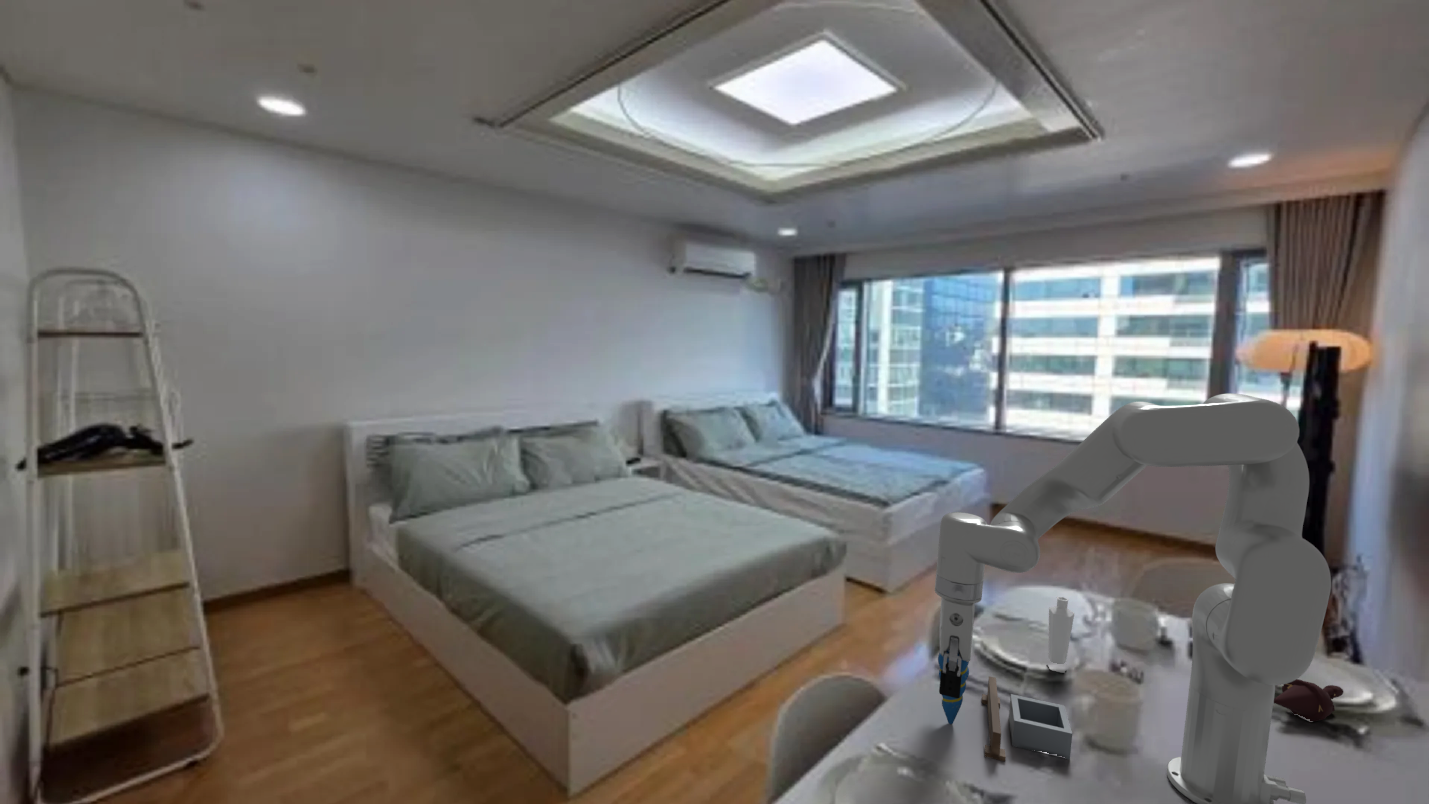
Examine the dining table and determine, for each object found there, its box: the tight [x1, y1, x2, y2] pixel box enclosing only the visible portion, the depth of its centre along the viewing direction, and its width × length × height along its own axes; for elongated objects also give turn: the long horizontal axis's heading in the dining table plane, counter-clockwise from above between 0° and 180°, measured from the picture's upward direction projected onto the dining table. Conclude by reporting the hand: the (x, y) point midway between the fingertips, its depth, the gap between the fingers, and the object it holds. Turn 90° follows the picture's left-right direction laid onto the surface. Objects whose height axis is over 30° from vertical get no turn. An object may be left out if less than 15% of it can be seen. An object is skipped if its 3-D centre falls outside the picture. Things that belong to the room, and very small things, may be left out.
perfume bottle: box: [1048, 596, 1075, 664], centre depth 127 cm, size 5×4×15 cm
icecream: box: [1274, 678, 1344, 723], centre depth 113 cm, size 7×7×15 cm
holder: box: [1008, 693, 1073, 761], centre depth 105 cm, size 8×8×4 cm
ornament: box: [937, 651, 970, 725], centre depth 108 cm, size 5×5×15 cm
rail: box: [981, 675, 1007, 763], centre depth 108 cm, size 3×18×4 cm, turn 158°
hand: (949, 680), depth 108 cm, fingers open, 9 cm apart
